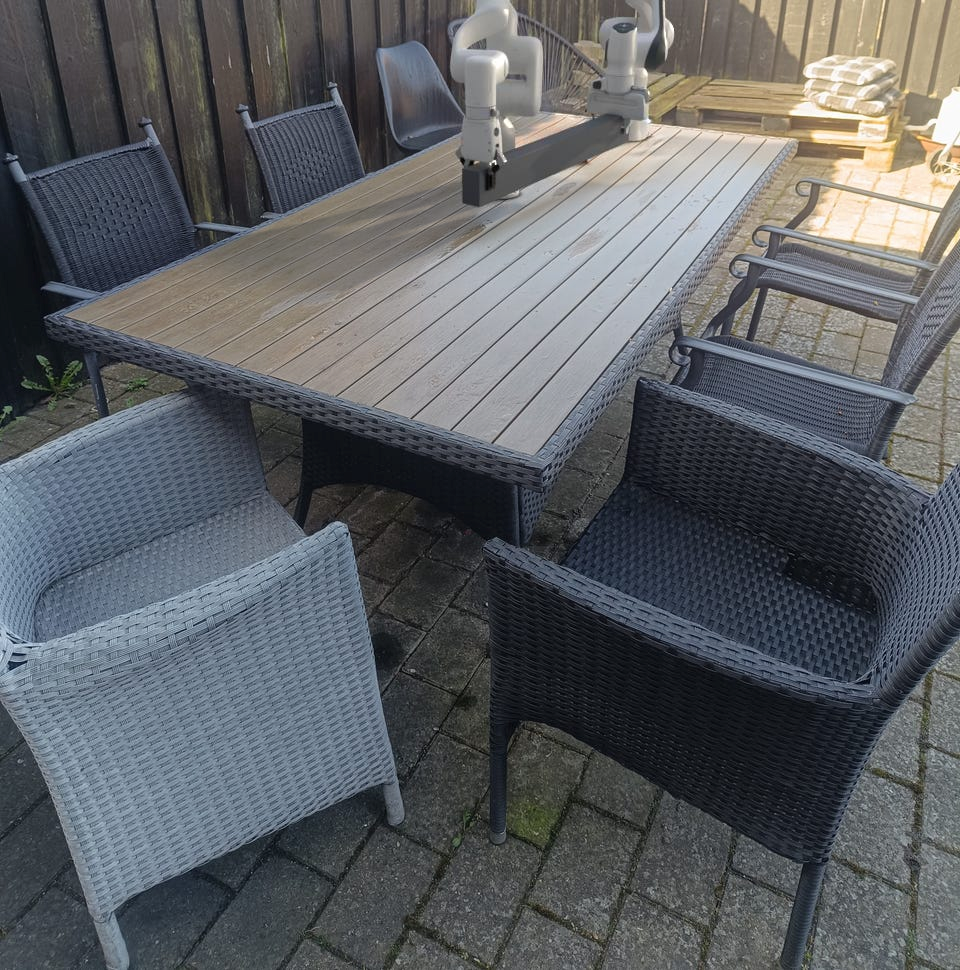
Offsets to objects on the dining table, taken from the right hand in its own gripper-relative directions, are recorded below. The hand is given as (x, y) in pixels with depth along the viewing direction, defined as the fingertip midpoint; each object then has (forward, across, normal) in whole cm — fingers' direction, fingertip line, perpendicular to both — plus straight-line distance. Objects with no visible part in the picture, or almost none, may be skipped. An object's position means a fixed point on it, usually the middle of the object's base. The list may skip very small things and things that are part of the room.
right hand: (615, 131), depth 265 cm
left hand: (-1, +1, +73) cm, 73 cm away
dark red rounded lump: (+13, +16, -6) cm, 22 cm away
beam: (+3, 0, +36) cm, 36 cm away
